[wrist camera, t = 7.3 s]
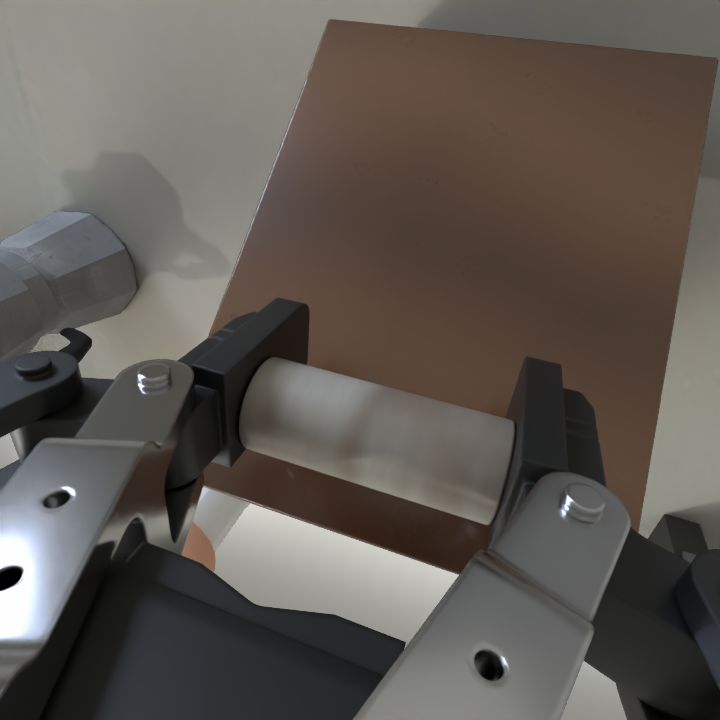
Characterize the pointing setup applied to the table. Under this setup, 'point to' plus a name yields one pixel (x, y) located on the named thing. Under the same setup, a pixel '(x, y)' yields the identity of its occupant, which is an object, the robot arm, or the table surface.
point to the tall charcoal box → (679, 537)
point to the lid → (461, 272)
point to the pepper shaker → (211, 525)
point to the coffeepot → (61, 282)
